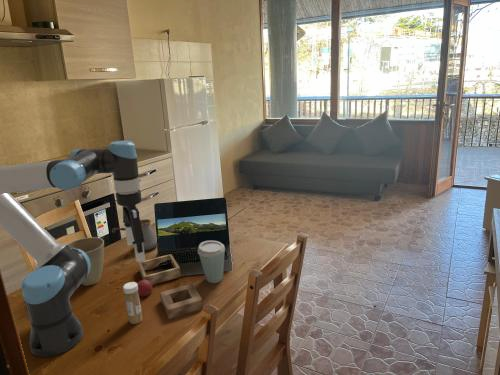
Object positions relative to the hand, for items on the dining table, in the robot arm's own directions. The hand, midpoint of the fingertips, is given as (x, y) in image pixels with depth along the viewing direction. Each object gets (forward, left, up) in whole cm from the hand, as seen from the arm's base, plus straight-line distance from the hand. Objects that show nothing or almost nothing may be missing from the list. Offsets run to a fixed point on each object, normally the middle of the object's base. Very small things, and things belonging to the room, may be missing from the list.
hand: (135, 252), depth 127 cm
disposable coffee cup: (+28, +8, -23) cm, 37 cm away
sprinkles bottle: (-4, -3, -23) cm, 24 cm away
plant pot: (-16, +33, -23) cm, 43 cm away
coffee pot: (+6, +51, -23) cm, 56 cm away
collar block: (+12, -2, -23) cm, 26 cm away
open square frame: (+10, +24, -23) cm, 35 cm away
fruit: (+2, +11, -23) cm, 26 cm away
